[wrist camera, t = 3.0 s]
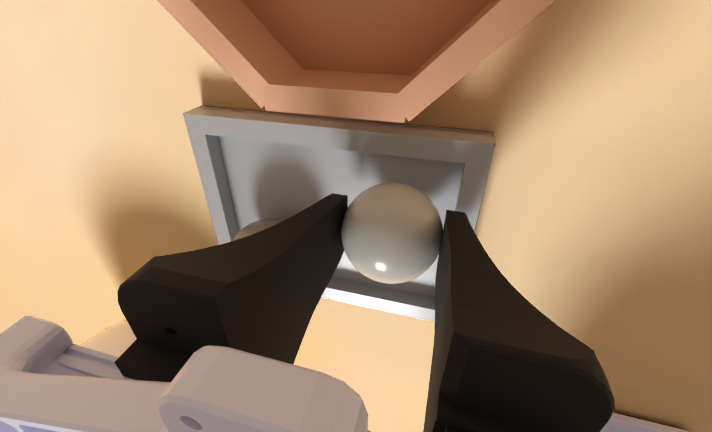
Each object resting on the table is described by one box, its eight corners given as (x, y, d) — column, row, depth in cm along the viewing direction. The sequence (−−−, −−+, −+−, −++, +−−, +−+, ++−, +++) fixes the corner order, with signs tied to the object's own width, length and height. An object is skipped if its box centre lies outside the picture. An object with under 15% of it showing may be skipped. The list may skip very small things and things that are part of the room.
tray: (493, 132, 12) (495, 143, 11) (452, 306, 17) (451, 325, 16) (201, 105, 15) (182, 113, 14) (239, 263, 20) (227, 277, 19)
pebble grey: (452, 172, 12) (447, 226, 9) (439, 250, 14) (431, 315, 11) (356, 160, 13) (324, 207, 10) (356, 236, 15) (329, 294, 12)
